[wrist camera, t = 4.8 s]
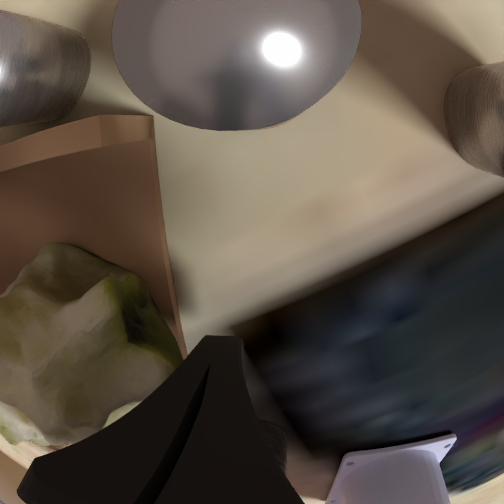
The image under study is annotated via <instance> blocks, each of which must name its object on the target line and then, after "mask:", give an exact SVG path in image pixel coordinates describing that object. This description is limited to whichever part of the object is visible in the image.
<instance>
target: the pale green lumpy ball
mask: <svg viewBox="0 0 504 504" xmlns="http://www.w3.org/2000/svg"><path fill="white" fill-rule="evenodd" d="M183 361H184V359H183V357H182V354H181V351H180V348H179V346H178V343H177V341H176V338H175V336H174V335H173V333H172V331H171V330H170V328H169V326H168V325H167V323H166V321H165V319H164V318H163V316H162V314H161V312H160V310H159V309H158V307H157V305H156V303H155V301H154V299H153V297H152V296H151V294H150V292H149V290H148V287H147V286H146V284H145V282H144V281H143V280H142V279H141V278H140V277H139V276H137V275H136V274H135V273H133V272H130V271H128V270H126V269H124V268H123V267H121V266H119V265H116V264H114V263H111V262H109V261H106V260H104V259H102V258H101V257H99V256H97V255H95V254H93V253H91V252H89V251H87V250H85V249H83V248H81V247H79V246H75V245H71V244H67V243H61V242H51V243H48V244H46V245H43V246H42V247H41V249H40V250H39V253H38V255H37V256H36V258H35V259H34V260H33V261H32V262H31V263H29V264H27V265H25V266H24V267H23V269H22V270H21V272H20V273H19V275H18V277H17V279H16V280H15V281H13V282H12V283H11V284H10V285H9V286H8V288H7V289H6V291H5V292H4V293H2V294H0V434H1V435H2V436H3V437H4V438H5V439H6V440H7V441H8V442H9V443H10V444H12V445H17V444H18V443H20V442H22V441H31V442H33V443H35V444H38V445H41V446H49V445H62V444H75V443H77V442H79V441H81V440H83V439H85V438H87V437H89V436H91V435H93V434H95V433H97V432H98V431H100V430H102V429H103V428H105V427H107V426H108V425H110V424H111V423H113V422H115V421H116V420H118V419H119V418H121V417H122V416H124V415H125V414H126V413H128V412H129V411H130V410H132V409H133V408H134V407H136V406H137V405H138V404H139V403H141V402H142V401H143V400H144V399H145V398H147V397H148V396H149V395H150V394H151V393H152V392H153V391H154V390H155V389H156V388H157V387H159V386H160V385H161V384H162V383H163V382H164V381H165V380H166V379H167V378H168V377H169V376H170V375H171V374H172V373H173V372H174V370H175V369H176V368H177V367H178V366H179V365H180V364H181V363H182V362H183Z"/></svg>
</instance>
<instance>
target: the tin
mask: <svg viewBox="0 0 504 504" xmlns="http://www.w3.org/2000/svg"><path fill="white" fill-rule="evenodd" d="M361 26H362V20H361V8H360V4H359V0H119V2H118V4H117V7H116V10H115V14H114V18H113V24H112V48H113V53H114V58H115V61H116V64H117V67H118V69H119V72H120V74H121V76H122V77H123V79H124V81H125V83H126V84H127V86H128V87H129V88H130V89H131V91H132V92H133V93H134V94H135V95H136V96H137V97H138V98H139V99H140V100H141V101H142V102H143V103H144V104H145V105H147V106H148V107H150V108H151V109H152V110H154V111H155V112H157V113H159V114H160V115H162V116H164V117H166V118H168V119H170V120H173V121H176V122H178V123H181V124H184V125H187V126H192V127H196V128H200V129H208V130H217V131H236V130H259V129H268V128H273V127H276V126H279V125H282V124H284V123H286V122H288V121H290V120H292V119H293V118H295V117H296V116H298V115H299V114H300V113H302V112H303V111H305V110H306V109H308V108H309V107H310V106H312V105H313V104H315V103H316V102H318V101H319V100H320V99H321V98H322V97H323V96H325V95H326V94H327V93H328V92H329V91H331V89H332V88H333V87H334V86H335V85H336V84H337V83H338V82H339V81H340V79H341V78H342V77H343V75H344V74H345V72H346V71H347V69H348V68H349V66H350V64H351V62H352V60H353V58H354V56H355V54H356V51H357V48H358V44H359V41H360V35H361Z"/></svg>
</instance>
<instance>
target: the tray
mask: <svg viewBox="0 0 504 504" xmlns="http://www.w3.org/2000/svg"><path fill="white" fill-rule="evenodd" d="M51 242H61V243H67V244H71V245H75V246H79V247H81V248H83V249H85V250H87V251H89V252H91V253H93V254H95V255H97V256H99V257H101V258H102V259H104V260H106V261H109V262H111V263H114V264H116V265H119V266H121V267H123V268H124V269H126V270H128V271H130V272H133V273H135V274H136V275H137V276H139V277H140V278H141V279H142V280H143V281H144V282H145V284H146V286H147V287H148V290H149V292H150V294H151V296H152V297H153V299H154V301H155V303H156V305H157V307H158V309H159V310H160V312H161V314H162V316H163V318H164V319H165V321H166V323H167V325H168V326H169V328H170V330H171V331H172V333H173V335H174V336H175V338H176V341H177V343H178V346H179V348H180V351H181V354H182V357H183V359H184V360H185V358H186V357H187V356H188V355H187V350H186V346H185V341H184V336H183V332H182V327H181V322H180V317H179V311H178V306H177V301H176V295H175V290H174V284H173V278H172V272H171V266H170V260H169V254H168V247H167V241H166V234H165V226H164V219H163V211H162V203H161V195H160V186H159V177H158V168H157V157H156V146H155V134H154V120H153V116H145V115H96V116H92V117H88V118H84V119H81V120H77V121H73V122H70V123H66V124H63V125H59V126H56V127H53V128H49V129H46V130H43V131H40V132H37V133H34V134H31V135H28V136H25V137H22V138H20V139H17V140H14V141H11V142H9V143H6V144H4V145H1V146H0V294H2V293H4V292H5V291H6V289H7V288H8V286H9V285H10V284H11V283H12V282H13V281H15V280H16V279H17V277H18V275H19V273H20V272H21V270H22V269H23V267H24V266H25V265H27V264H29V263H31V262H32V261H33V260H34V259H35V258H36V256H37V255H38V253H39V250H40V249H41V247H42V246H43V245H46V244H48V243H51Z"/></svg>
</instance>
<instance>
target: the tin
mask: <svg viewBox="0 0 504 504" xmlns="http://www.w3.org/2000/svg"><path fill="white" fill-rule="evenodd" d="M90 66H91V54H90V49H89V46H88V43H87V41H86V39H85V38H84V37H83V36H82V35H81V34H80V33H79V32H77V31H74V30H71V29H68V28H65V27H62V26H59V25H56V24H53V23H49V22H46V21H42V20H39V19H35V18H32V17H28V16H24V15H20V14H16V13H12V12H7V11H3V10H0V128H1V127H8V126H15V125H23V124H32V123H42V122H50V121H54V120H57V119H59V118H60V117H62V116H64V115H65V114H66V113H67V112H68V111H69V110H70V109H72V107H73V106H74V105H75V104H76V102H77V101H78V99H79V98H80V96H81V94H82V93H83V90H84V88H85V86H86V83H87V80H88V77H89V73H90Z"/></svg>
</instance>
